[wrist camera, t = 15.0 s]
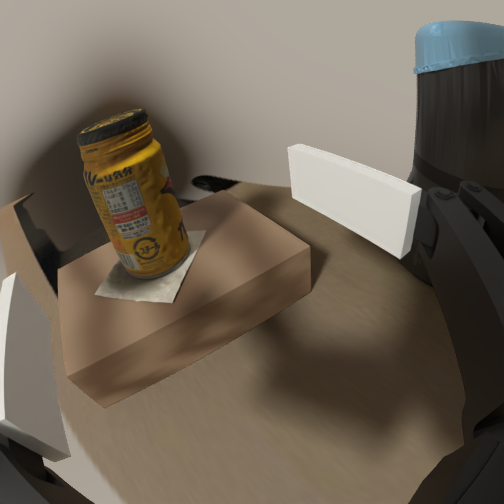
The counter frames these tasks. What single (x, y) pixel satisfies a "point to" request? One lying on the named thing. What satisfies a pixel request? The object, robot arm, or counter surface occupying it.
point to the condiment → (136, 209)
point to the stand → (179, 301)
